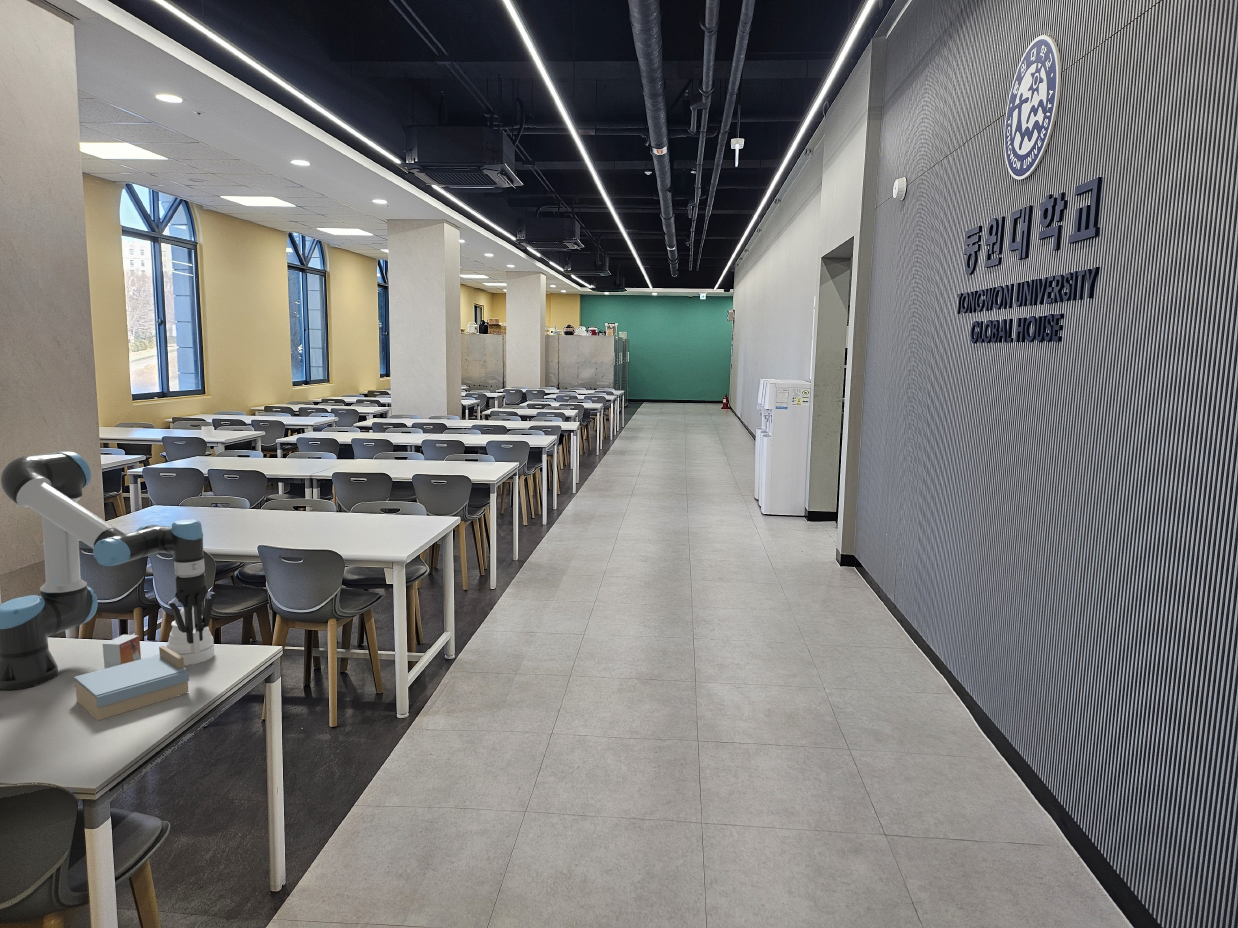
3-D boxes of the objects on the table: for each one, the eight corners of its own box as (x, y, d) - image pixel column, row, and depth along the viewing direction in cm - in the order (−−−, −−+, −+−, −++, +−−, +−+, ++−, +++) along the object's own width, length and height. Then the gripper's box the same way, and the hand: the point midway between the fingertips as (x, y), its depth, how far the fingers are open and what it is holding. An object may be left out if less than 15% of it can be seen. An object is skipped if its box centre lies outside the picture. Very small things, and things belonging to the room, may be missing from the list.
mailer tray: (76, 701, 211) (74, 680, 210) (164, 676, 228) (163, 656, 227) (97, 720, 200) (95, 698, 199) (188, 692, 217) (187, 672, 216)
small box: (121, 679, 225) (118, 644, 224) (104, 678, 226) (101, 643, 225) (142, 668, 233) (139, 634, 232) (126, 667, 234) (123, 633, 232)
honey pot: (222, 649, 248) (219, 595, 246) (200, 665, 235) (196, 608, 233) (182, 649, 248) (178, 595, 246) (158, 665, 236) (154, 608, 233)
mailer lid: (74, 686, 211) (72, 665, 210) (162, 662, 228) (161, 643, 227) (97, 707, 199) (95, 684, 198) (189, 680, 216) (187, 659, 215)
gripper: (170, 581, 215) (176, 662, 218) (219, 571, 225) (224, 649, 228) (160, 576, 220) (166, 655, 223) (208, 566, 229) (213, 643, 233)
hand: (195, 652), depth 225 cm, fingers closed
